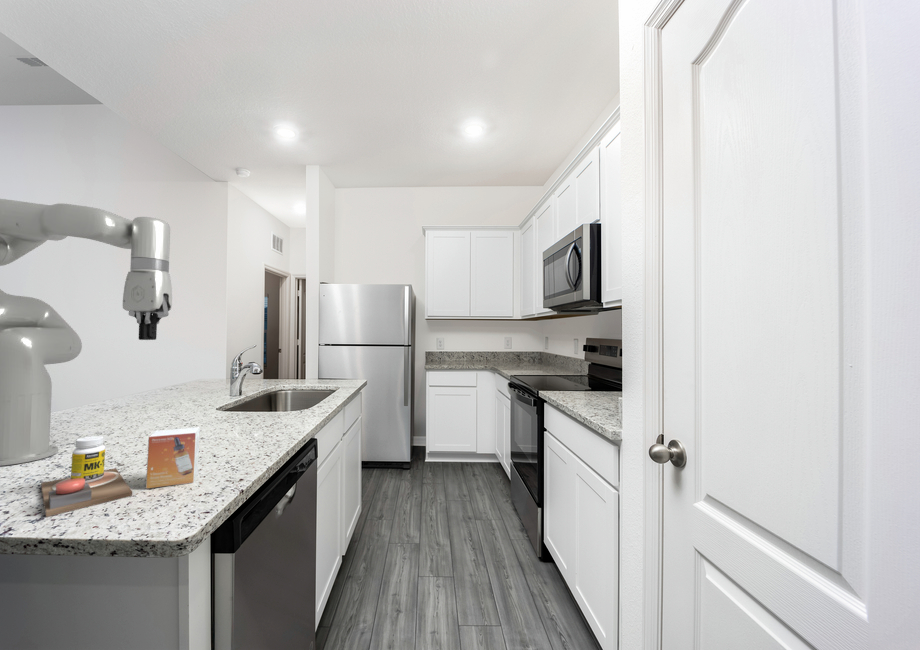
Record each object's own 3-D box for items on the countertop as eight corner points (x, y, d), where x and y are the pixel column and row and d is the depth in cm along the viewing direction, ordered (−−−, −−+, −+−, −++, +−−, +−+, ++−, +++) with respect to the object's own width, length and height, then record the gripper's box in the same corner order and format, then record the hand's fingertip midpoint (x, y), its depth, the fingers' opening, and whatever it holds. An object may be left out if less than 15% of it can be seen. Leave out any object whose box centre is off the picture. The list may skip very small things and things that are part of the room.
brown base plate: (41, 487, 74) (41, 474, 74) (115, 471, 82) (116, 460, 83) (46, 516, 62) (46, 502, 63) (132, 495, 71) (132, 483, 71)
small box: (145, 490, 74) (147, 436, 74) (152, 479, 79) (154, 429, 79) (194, 483, 77) (195, 432, 78) (198, 473, 82) (200, 426, 83)
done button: (55, 490, 67) (55, 482, 67) (83, 484, 70) (83, 476, 70) (56, 496, 65) (56, 487, 65) (85, 489, 67) (86, 481, 67)
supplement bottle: (83, 485, 72) (85, 442, 73) (63, 483, 73) (65, 440, 73) (110, 476, 77) (112, 435, 77) (91, 474, 78) (93, 434, 78)
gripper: (109, 265, 92) (106, 339, 92) (160, 264, 89) (158, 340, 89) (140, 270, 99) (138, 338, 99) (188, 269, 97) (186, 340, 96)
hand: (147, 339), depth 94 cm, fingers closed
